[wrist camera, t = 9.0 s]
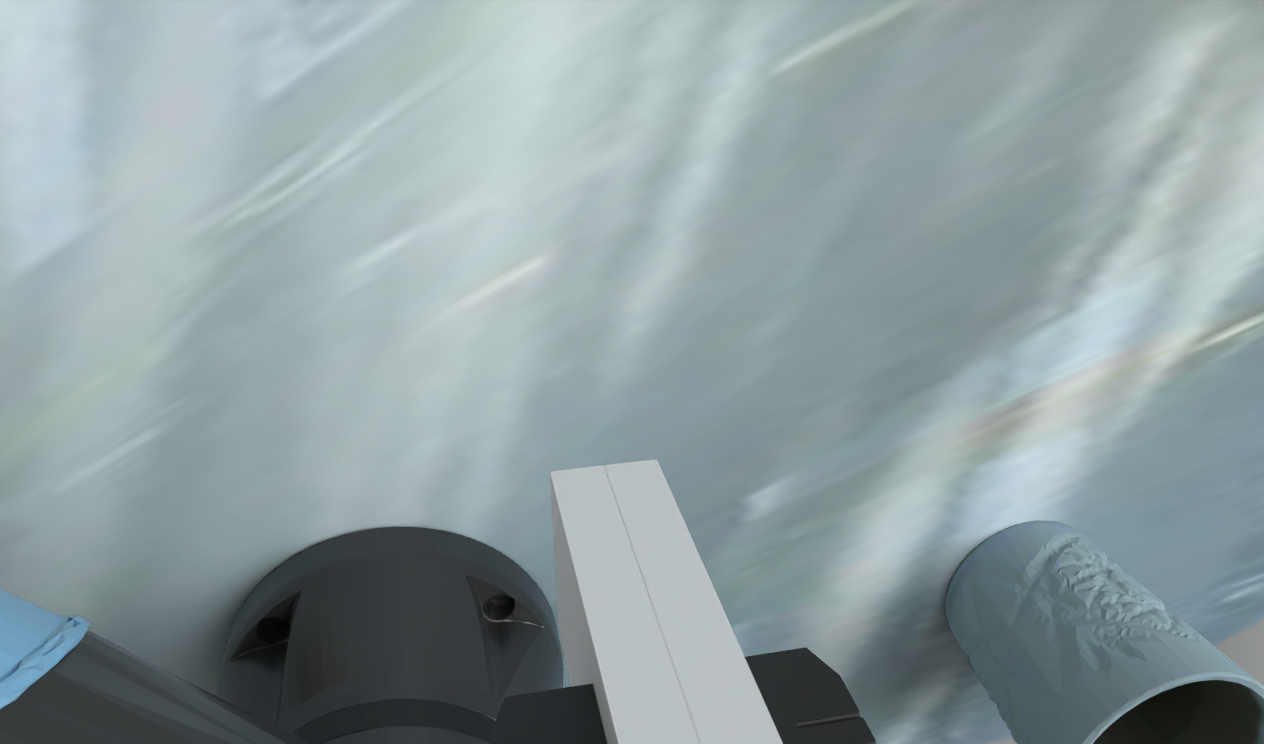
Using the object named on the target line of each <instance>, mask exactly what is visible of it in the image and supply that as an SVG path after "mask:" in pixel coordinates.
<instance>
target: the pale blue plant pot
mask: <svg viewBox="0 0 1264 744" xmlns="http://www.w3.org/2000/svg"><path fill="white" fill-rule="evenodd" d="M945 611H946V616H947V621H948V624H949V628H950V630H951V632H952V634H953V635H954V637H955V639H956V641H957V642H958V644H959V646H960V647H961V649H962V650H963V651H964V652H965V653H966V654H967V655H968V656H969V660H970V664H971V666H972V668H973V669H974V671H975V672H976V674H977V677H978V678H979V679H980V681H981V683H982V685H983V687H984V688H986V689H987V690H988V692H989V696H990V698H991V700H992V701H994V702H995V703H996V704H997V708H998V710H999V713H1000V715H1001V717H1002V719H1003V721H1005V722H1006V724H1007V727H1008V729H1010V731H1011V735H1012V737H1013V739H1014V740H1015V741H1016V743H1018V744H1264V687H1263V686H1262V685H1261V684H1260V683H1259V682H1258V681H1256V680H1255V679H1254V678H1253V677H1251V676H1250V675H1249V674H1248V673H1246V672H1245V671H1244V670H1243V669H1242V668H1240V667H1239V666H1237V664H1235V663H1234V662H1233V661H1231V660H1230V659H1229V658H1228V657H1226V656H1225V655H1224V654H1223V653H1221V652H1220V651H1219V650H1218V649H1216V648H1215V647H1214V646H1213V645H1212V644H1211V643H1210V642H1209V641H1207V640H1206V639H1205V638H1204V637H1202V636H1201V635H1200V634H1199V633H1198V632H1196V631H1195V630H1194V629H1192V628H1191V627H1190V626H1189V625H1187V624H1186V623H1184V622H1183V621H1181V620H1180V619H1178V618H1176V617H1174V616H1172V615H1171V614H1169V613H1167V612H1166V611H1165V607H1164V604H1163V603H1162V602H1161V601H1160V600H1159V599H1158V598H1157V597H1155V596H1154V595H1153V594H1151V593H1150V592H1149V591H1148V590H1147V589H1146V588H1145V587H1144V586H1143V585H1142V584H1140V583H1139V582H1138V581H1136V580H1135V579H1134V578H1132V577H1131V576H1130V575H1129V574H1127V573H1124V572H1123V571H1122V570H1121V568H1120V567H1119V566H1118V565H1117V564H1116V563H1115V562H1114V561H1112V560H1111V559H1109V557H1108V556H1107V555H1106V554H1105V553H1104V552H1103V551H1102V550H1101V549H1100V548H1098V547H1097V546H1096V545H1095V544H1094V543H1093V542H1092V541H1091V540H1089V539H1088V538H1087V537H1086V536H1085V535H1084V534H1082V533H1081V532H1079V531H1078V530H1076V529H1074V528H1072V527H1070V526H1068V525H1065V524H1063V523H1058V522H1053V521H1032V522H1025V523H1022V524H1018V525H1015V526H1012V527H1009V528H1007V529H1005V530H1003V531H1001V532H999V533H997V534H995V535H993V536H991V537H990V538H988V539H987V540H986V541H984V542H983V543H981V544H980V545H979V546H978V547H977V548H976V549H975V550H973V551H972V552H971V553H970V554H969V555H968V556H967V557H966V559H965V560H964V561H963V563H962V564H961V565H960V567H959V568H958V569H957V571H956V573H955V574H954V576H953V578H952V580H951V582H950V585H949V588H948V592H947V595H946V601H945Z"/></svg>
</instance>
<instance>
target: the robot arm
mask: <svg viewBox="0 0 1264 744" xmlns="http://www.w3.org/2000/svg"><path fill="white" fill-rule="evenodd" d="M550 480H551V497H552V515H553V533H554V551H555V569H556V587H557V605H558V623H559V632H560V637H561V641H562V646H563V651H564V656H565V660H566V665H567V670H568V675H569V680H570V684H571V687H566V688H563V659H562V652H561V647H560V641H559V636H558V631H557V626H556V622H555V618H554V615H553V612H552V609H551V607H550V605H549V603H548V601H547V599H546V597H545V595H544V594H543V592H542V591H541V589H540V588H539V586H538V585H537V584H536V582H535V581H534V580H533V579H532V578H531V577H530V575H529V574H528V573H526V572H525V571H524V570H523V569H522V568H521V567H520V566H519V565H518V564H516V563H515V562H514V561H513V560H511V559H510V558H508V557H507V556H506V555H504V554H502V553H501V552H499V551H497V550H496V549H494V548H492V547H490V546H488V545H486V544H483V543H481V542H479V541H476V540H474V539H471V538H468V537H465V536H462V535H458V534H454V533H451V532H446V531H441V530H435V529H427V528H415V527H393V528H380V529H371V530H366V531H360V532H355V533H351V534H347V535H343V536H340V537H337V538H334V539H331V540H328V541H325V542H323V543H320V544H318V545H316V546H313V547H311V548H309V549H307V550H305V551H303V552H301V553H300V554H298V555H296V556H294V557H293V558H291V559H290V560H288V561H286V562H285V563H284V564H282V565H281V566H279V567H278V568H277V569H275V570H274V571H273V572H272V573H271V574H269V575H268V576H267V577H266V578H265V579H264V580H263V581H262V582H261V583H260V584H259V585H258V586H257V587H256V588H255V589H254V591H253V592H252V593H251V594H250V595H249V597H248V598H247V599H246V601H245V602H244V604H243V605H242V607H241V609H240V610H239V612H238V614H237V616H236V618H235V620H234V622H233V624H232V627H231V630H230V632H229V636H228V640H227V643H226V648H225V652H224V656H223V660H222V664H221V669H220V674H219V680H218V697H216V696H214V695H212V694H210V693H208V692H206V691H204V690H202V689H200V688H198V687H196V686H194V685H192V684H190V683H188V682H186V681H184V680H182V679H180V678H179V677H177V676H175V675H173V674H171V673H169V672H167V671H165V670H163V669H161V668H159V667H157V666H155V665H153V664H152V663H150V662H148V661H146V660H144V659H142V658H140V657H138V656H136V655H134V654H132V653H130V652H128V651H126V650H125V649H123V648H121V647H119V646H117V645H115V644H113V643H111V642H109V641H107V640H105V639H103V638H101V637H99V636H98V635H96V634H94V633H92V632H90V631H88V629H89V627H90V623H89V622H88V621H86V620H85V619H83V618H81V617H79V616H75V615H69V616H66V617H62V616H60V615H58V614H55V613H53V612H51V611H48V610H46V609H44V608H42V607H39V606H37V605H35V604H33V603H30V602H28V601H26V600H24V599H21V598H19V597H17V596H14V595H12V594H10V593H8V592H5V591H3V590H1V589H0V744H876V742H875V738H874V737H873V735H872V733H871V731H870V729H869V728H868V726H867V724H866V722H865V720H864V719H863V718H861V717H860V714H859V709H858V708H857V706H856V704H855V702H854V700H853V699H852V697H851V695H850V693H849V691H848V690H847V688H846V686H845V684H844V682H843V681H842V679H841V677H840V675H838V674H837V673H836V672H835V671H834V670H832V669H831V668H830V667H829V666H828V665H826V664H825V663H824V662H823V661H822V660H820V659H819V658H818V657H817V656H816V655H814V654H813V653H812V652H811V651H809V650H808V649H807V648H800V649H794V650H787V651H781V652H774V653H768V654H761V655H755V656H748V657H744V655H743V652H742V650H741V648H740V646H739V643H738V641H737V639H736V637H735V634H734V632H733V630H732V628H731V625H730V623H729V621H728V619H727V616H726V614H725V612H724V610H723V607H722V605H721V603H720V601H719V598H718V596H717V594H716V592H715V589H714V587H713V585H712V583H711V580H710V578H709V576H708V574H707V571H706V569H705V567H704V565H703V562H702V560H701V558H700V556H699V553H698V551H697V549H696V547H695V544H694V542H693V540H692V538H691V535H690V533H689V531H688V529H687V526H686V524H685V522H684V520H683V517H682V515H681V513H680V511H679V508H678V506H677V504H676V502H675V499H674V497H673V495H672V493H671V490H670V488H669V486H668V484H667V481H666V479H665V477H664V475H663V472H662V470H661V468H660V466H659V463H658V461H657V459H655V460H646V461H638V462H629V463H621V464H612V465H603V466H595V467H586V468H578V469H569V470H561V471H552V472H550Z"/></svg>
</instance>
